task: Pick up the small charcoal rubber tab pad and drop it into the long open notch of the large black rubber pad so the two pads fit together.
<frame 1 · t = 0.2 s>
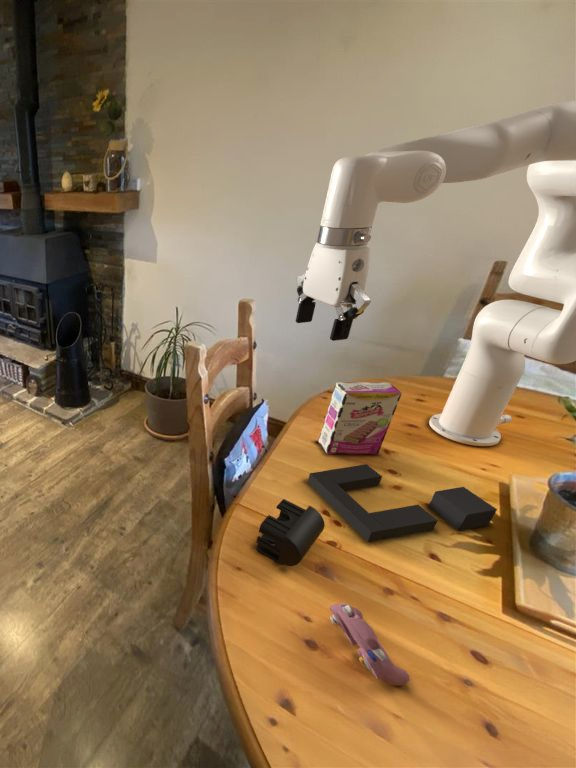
hand: (320, 330, 79), 31 cm above the table, tool pointing down, fingers open, 9 cm apart
notch pad: (367, 504, 81), on the table
tab pad: (456, 516, 77), on the table
candy bar box: (347, 449, 96), on the table
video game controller: (360, 652, 57), on the table
end cap: (286, 547, 73), on the table
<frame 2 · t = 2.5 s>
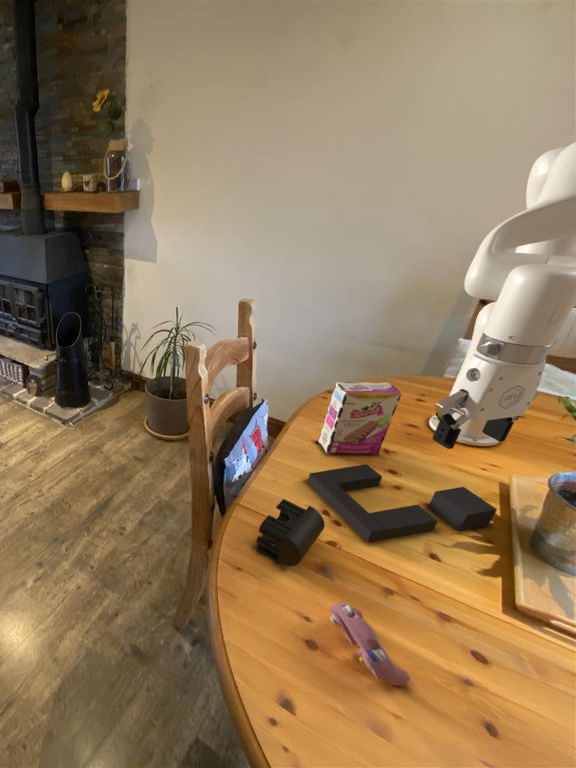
hand: (467, 440, 71), 16 cm above the table, tool pointing down, fingers open, 9 cm apart
nothing on the table moved.
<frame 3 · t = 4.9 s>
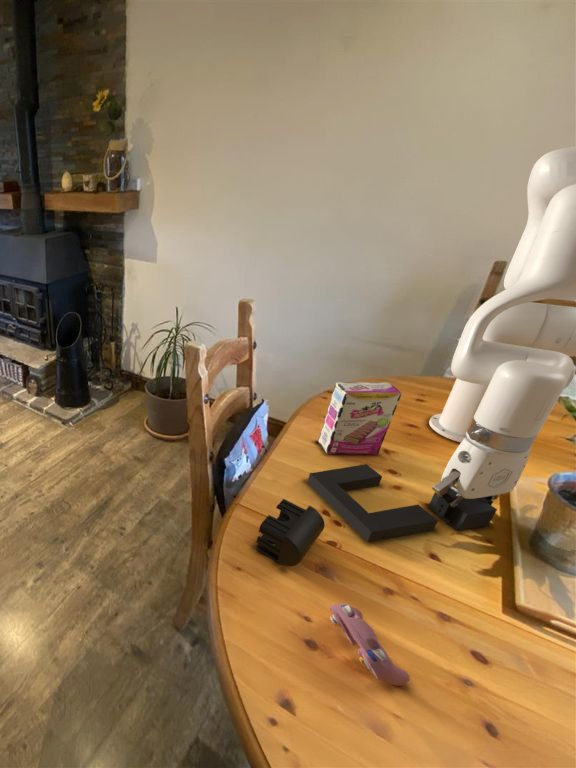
hand: (458, 513, 76), 1 cm above the table, tool pointing down, fingers closed on tab pad, 6 cm apart
tab pad: (456, 516, 77), on the table, touching gripper
everything else where it was.
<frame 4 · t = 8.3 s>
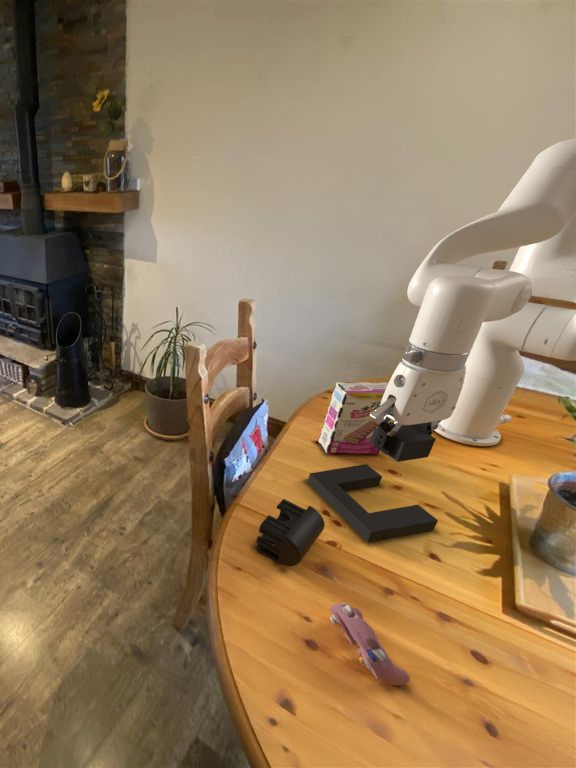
hand: (398, 446, 74), 14 cm above the table, tool pointing down, fingers closed on tab pad, 6 cm apart
tab pad: (397, 449, 74), point 13 cm above the table, touching gripper
everything else where it was.
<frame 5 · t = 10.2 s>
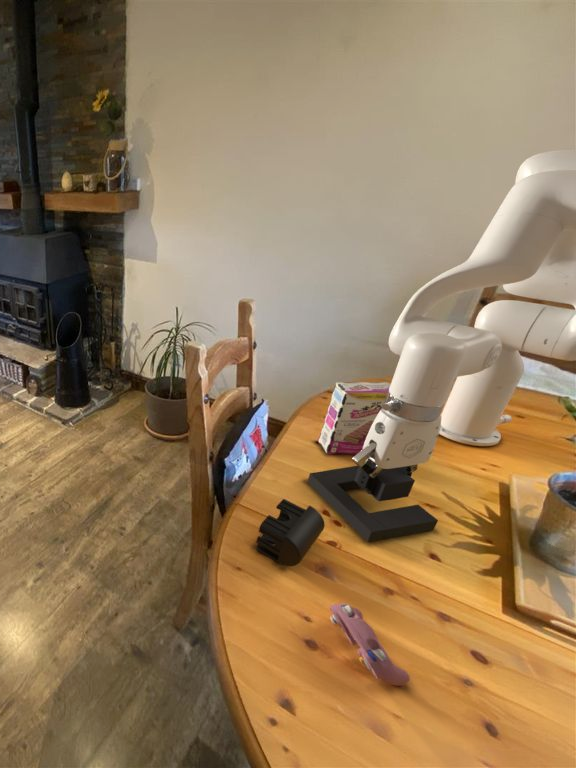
hand: (381, 485, 79), 4 cm above the table, tool pointing down, fingers closed on tab pad, 6 cm apart
tab pad: (380, 488, 79), point 4 cm above the table, touching gripper
everything else where it was.
when the fingers open (1 cm above the table, at t = 11.9 s): tab pad stays where it is, on the table.
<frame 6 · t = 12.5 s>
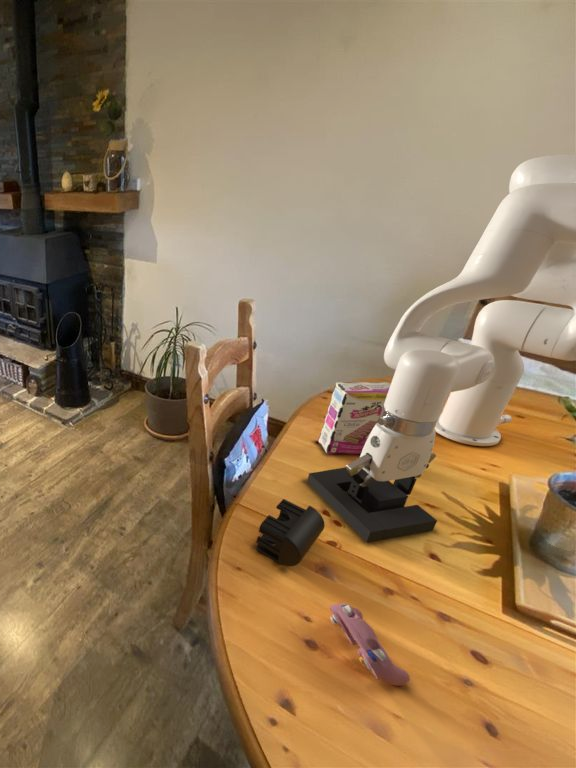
hand: (378, 493, 80), 2 cm above the table, tool pointing down, fingers open, 9 cm apart
tab pad: (374, 503, 81), on the table
everything else where it was.
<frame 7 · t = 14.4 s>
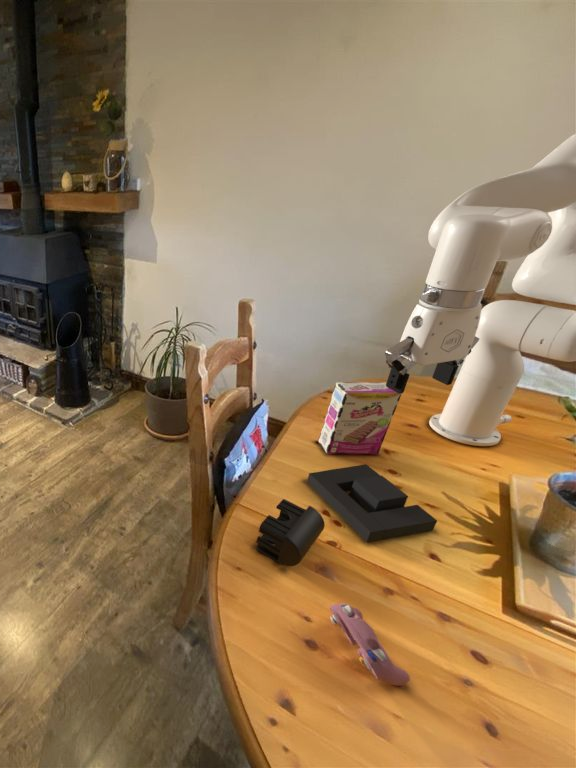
hand: (417, 385, 77), 22 cm above the table, tool pointing down, fingers open, 9 cm apart
nothing on the table moved.
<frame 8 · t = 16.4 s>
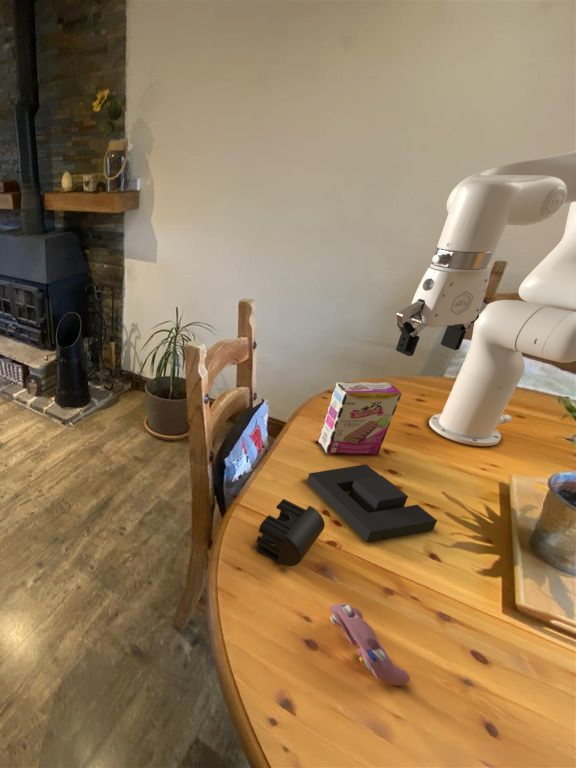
hand: (426, 350, 79), 26 cm above the table, tool pointing down, fingers open, 9 cm apart
nothing on the table moved.
at the end: tab pad 0.1 cm from the target spot on the notch pad, point 0.0 cm above the notch pad's base; tab pad tilted 0°; the gripper is holding nothing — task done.
